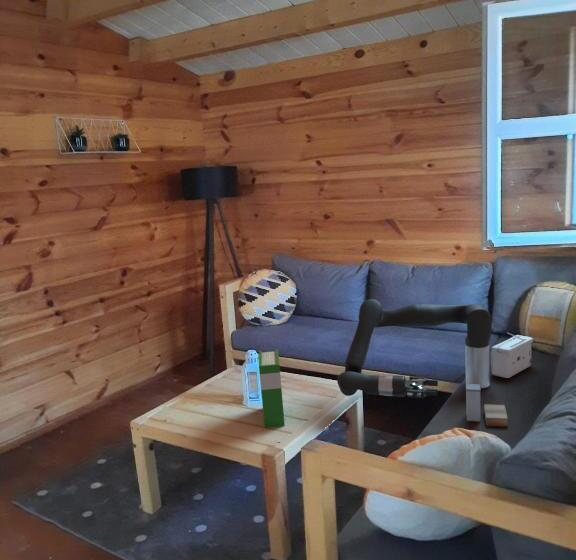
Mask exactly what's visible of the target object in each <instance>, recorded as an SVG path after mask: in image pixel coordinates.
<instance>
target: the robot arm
mask: <svg viewBox="0 0 576 560" xmlns="http://www.w3.org/2000/svg"><path fill="white" fill-rule="evenodd" d="M451 323H452V324H453V323H454V324H455V323H456V324H465V325H466V327H467V328H466V329H467V330H466V337H465V338H464V346H465V347H464V350H465V351H464V353H465V356H464V357H465V385H466V384H480V389H486V388H489V386H490V342H491V341H490V340H491V336H492V317H491V313H490V312H489V311H488V309H486V308H485V307H484V306H483V305H481V304H478V303H467V304H466V303H465V304H453V305H452V304H450V305H449V304H433V303H415V304H414V303H412V304H409V305H405V306H402V307H399V308H394V309H383V306H382V303H380V302H379V301H378V300H377V299H374V298H370V299H366V300H363V302H362V304H361V305H360V306H359V311H358V324H357V327H356V331H355V334H354V336H353V338H352V342H351V343H350V347H349V349H348V353H347V355H346V357H345V358H346V359H345V362H344V369H345V370H344V371H343V372H341V373H340V374H339V375H338V376H337V380H336V382H337V386H338V388H339V390H340V392H341V393H342V395H345V396H347V397H351V396H353V395H355V394H356V393H357V391H362V392H364V394H368V395H378V396H385V397H386V396H387V397H405V396H406V397H407V398H415V399H425V397H426V396H438V389H437V388H424V387H438V386H439V385H438V384H439V383H438V382H439V381H438V379H428V378H426V376H409V377H408V378H409V379H406V376H405V375H392V374H384V375H383V374H382V375H379V374H378V375H377V374H364V373H362V371H363V367H364V365H365V363H366V360H367V355H368V351H369V347H370V344H371V340H372V335H373V333H374V329H375V328H385V327H415V328H419V327H421V328H423V327H424V328H429V327H431V328H433V327H438V326H442V325H445V324H451Z"/></svg>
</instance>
